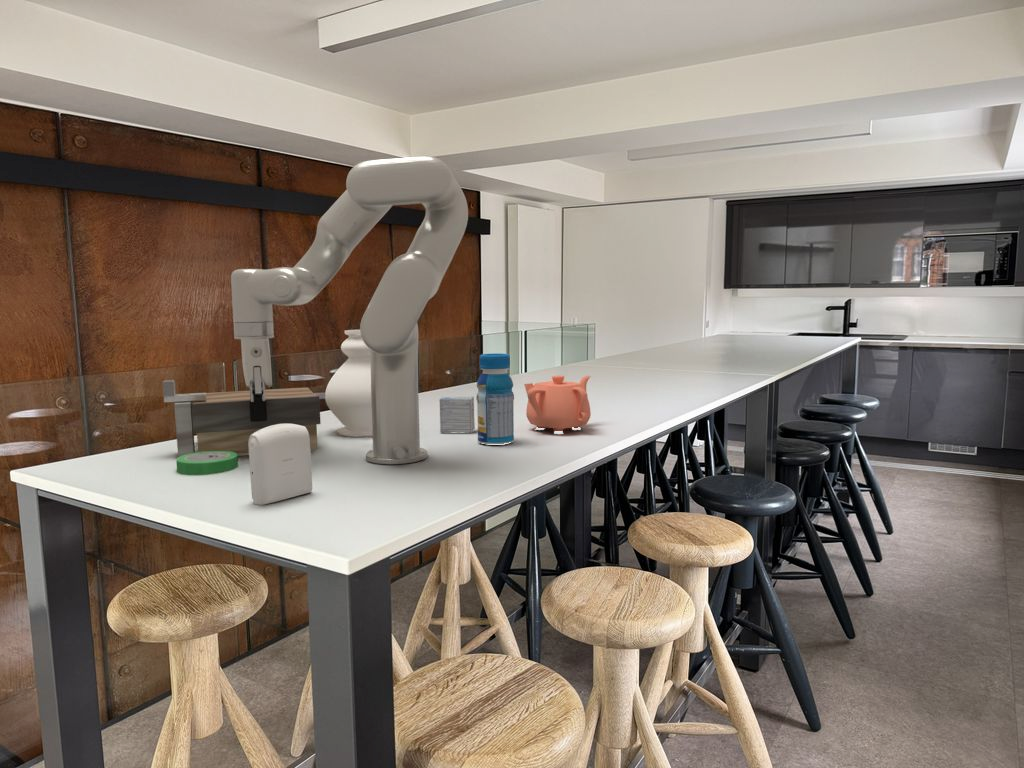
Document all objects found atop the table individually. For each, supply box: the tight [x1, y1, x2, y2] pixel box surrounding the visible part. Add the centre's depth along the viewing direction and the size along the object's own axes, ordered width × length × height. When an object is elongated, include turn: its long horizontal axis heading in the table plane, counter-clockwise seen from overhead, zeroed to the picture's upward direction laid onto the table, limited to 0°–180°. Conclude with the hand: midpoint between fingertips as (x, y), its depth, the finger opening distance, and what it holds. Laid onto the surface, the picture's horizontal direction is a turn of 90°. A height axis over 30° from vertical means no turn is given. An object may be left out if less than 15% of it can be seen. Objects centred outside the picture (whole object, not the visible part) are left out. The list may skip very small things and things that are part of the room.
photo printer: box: [248, 424, 313, 506], centre depth 119 cm, size 10×4×12 cm, turn 140°
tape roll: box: [176, 451, 239, 476], centre depth 141 cm, size 11×11×3 cm
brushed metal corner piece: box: [162, 379, 207, 403], centre depth 152 cm, size 3×8×4 cm, turn 112°
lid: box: [191, 387, 322, 435], centre depth 159 cm, size 23×25×6 cm
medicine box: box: [439, 395, 476, 433], centre depth 175 cm, size 8×4×9 cm, turn 84°
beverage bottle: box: [475, 352, 515, 444], centre depth 161 cm, size 8×8×20 cm
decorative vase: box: [324, 329, 373, 438], centre depth 175 cm, size 18×18×25 cm
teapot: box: [524, 375, 591, 431], centre depth 176 cm, size 16×17×14 cm
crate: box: [174, 401, 319, 458], centre depth 161 cm, size 20×28×11 cm
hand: (258, 420), depth 147 cm, fingers closed
